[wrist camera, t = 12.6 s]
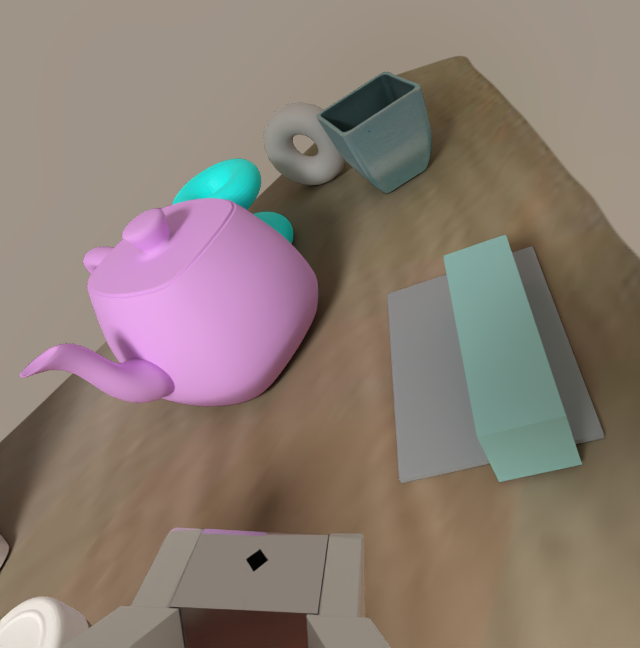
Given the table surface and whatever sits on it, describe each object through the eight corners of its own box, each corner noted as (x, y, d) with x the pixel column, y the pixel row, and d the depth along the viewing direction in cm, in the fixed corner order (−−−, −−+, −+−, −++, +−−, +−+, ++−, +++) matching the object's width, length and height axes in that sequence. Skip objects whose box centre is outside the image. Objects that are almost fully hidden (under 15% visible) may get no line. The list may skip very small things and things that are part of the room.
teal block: (565, 415, 30) (505, 234, 42) (477, 437, 31) (443, 255, 43) (581, 464, 32) (521, 281, 44) (499, 482, 34) (461, 299, 46)
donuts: (232, 145, 64) (265, 164, 56) (277, 218, 70) (312, 245, 62) (155, 199, 63) (179, 226, 55) (207, 268, 69) (235, 302, 61)
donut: (365, 163, 70) (328, 85, 64) (357, 181, 68) (318, 101, 62) (294, 181, 75) (254, 110, 69) (284, 198, 73) (242, 126, 67)
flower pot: (348, 184, 68) (313, 114, 63) (414, 143, 68) (384, 69, 62) (378, 212, 61) (341, 135, 56) (452, 166, 61) (422, 84, 55)
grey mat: (604, 437, 33) (603, 433, 33) (401, 483, 37) (399, 479, 37) (533, 249, 47) (532, 245, 46) (389, 297, 50) (387, 294, 50)
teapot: (202, 284, 67) (116, 173, 58) (355, 285, 54) (275, 142, 45) (66, 456, 56) (-67, 350, 47) (219, 512, 42) (75, 379, 33)
